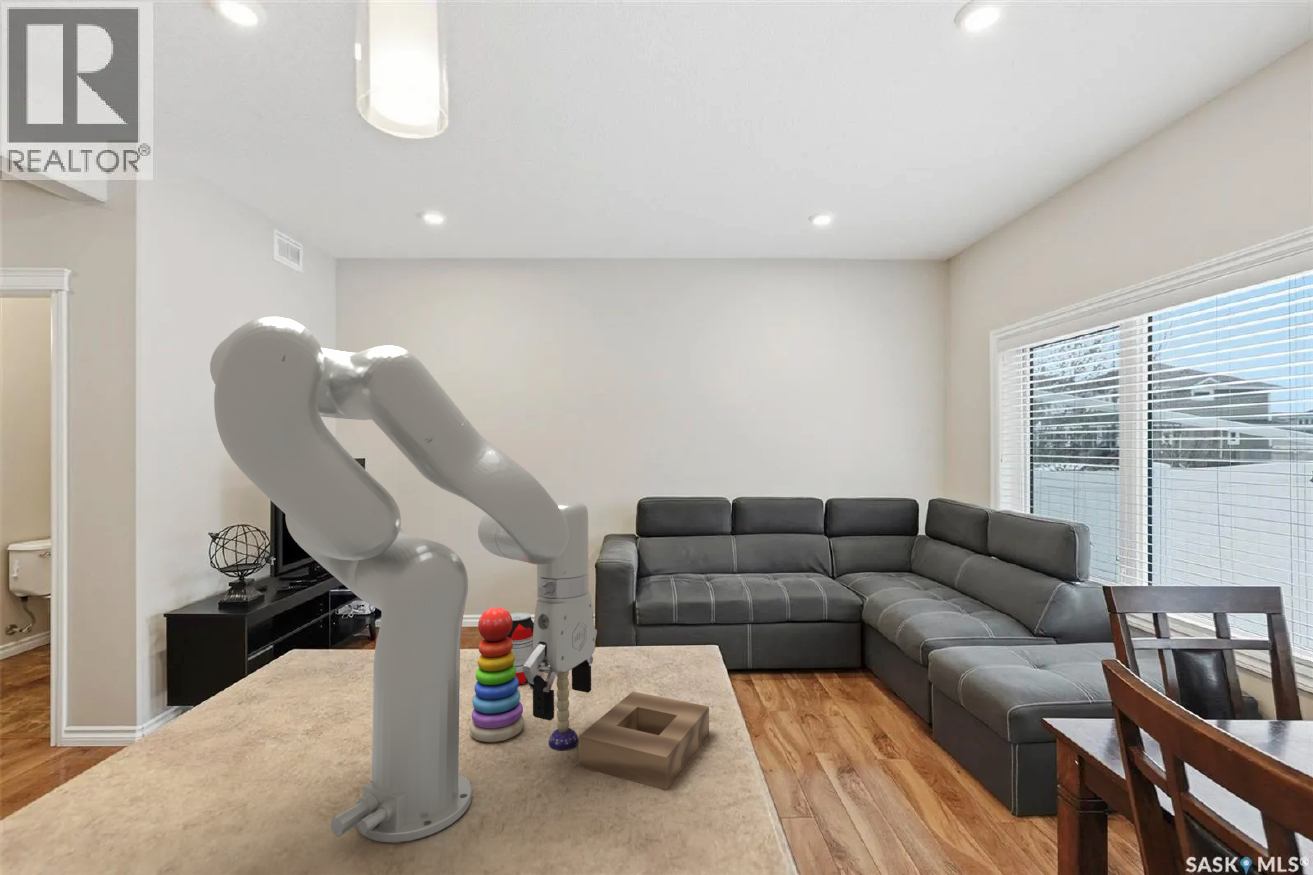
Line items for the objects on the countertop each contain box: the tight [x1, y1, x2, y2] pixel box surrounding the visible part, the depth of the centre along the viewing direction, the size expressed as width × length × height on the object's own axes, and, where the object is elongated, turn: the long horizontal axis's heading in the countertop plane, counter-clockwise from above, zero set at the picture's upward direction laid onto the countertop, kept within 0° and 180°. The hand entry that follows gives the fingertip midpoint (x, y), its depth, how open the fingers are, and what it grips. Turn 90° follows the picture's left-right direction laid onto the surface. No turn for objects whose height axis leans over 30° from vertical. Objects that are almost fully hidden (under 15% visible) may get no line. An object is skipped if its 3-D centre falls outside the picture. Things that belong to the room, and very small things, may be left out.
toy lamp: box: [548, 670, 579, 751], centre depth 82 cm, size 5×5×17 cm
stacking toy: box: [469, 606, 525, 743], centre depth 86 cm, size 8×8×19 cm
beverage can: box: [507, 611, 534, 686], centre depth 106 cm, size 6×6×12 cm
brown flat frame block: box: [578, 691, 710, 791], centre depth 81 cm, size 16×13×4 cm
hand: (563, 703), depth 83 cm, fingers open, 9 cm apart
